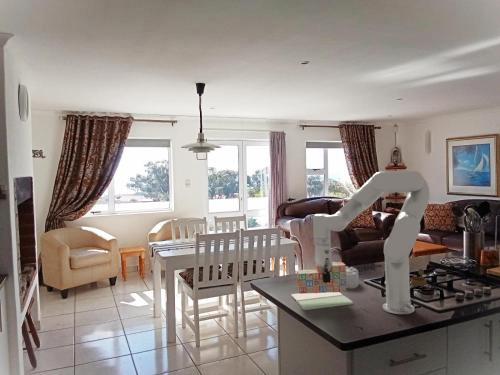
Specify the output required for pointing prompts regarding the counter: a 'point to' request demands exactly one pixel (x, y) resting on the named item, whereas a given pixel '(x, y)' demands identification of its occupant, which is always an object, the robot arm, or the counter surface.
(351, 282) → the grey animal paw
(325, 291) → the stack of blocks
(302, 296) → the cream mat
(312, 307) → the sage mat
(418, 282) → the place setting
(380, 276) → the counter surface
